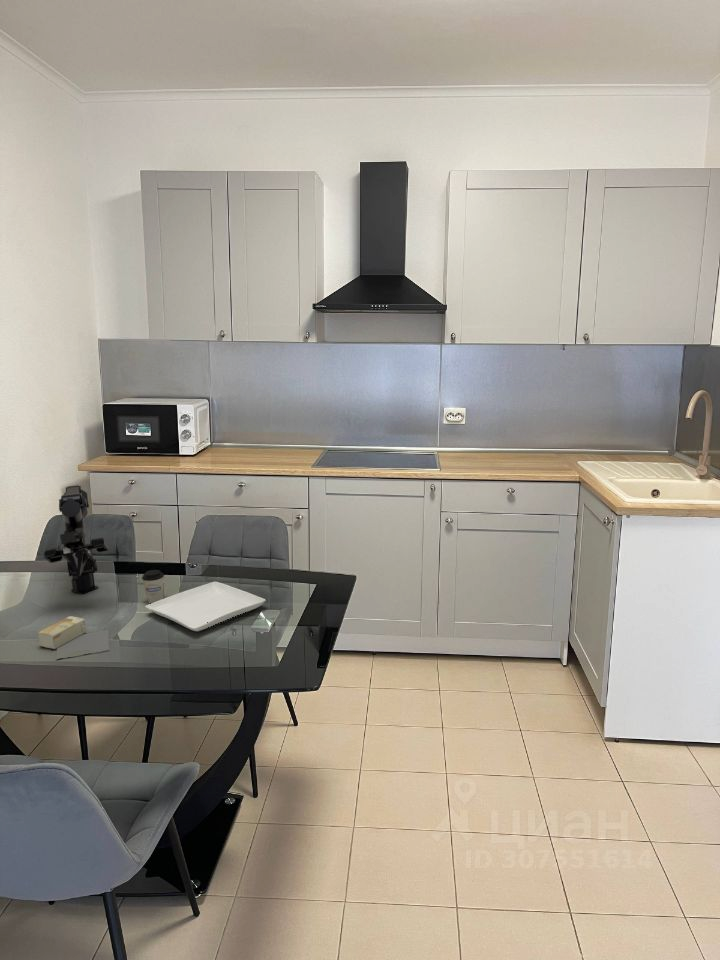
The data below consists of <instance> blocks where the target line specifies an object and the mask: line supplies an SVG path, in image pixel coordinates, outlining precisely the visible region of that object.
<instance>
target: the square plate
mask: <svg viewBox="0 0 720 960" xmlns="http://www.w3.org/2000/svg"><path fill="white" fill-rule="evenodd" d="M266 601H267V600H266V599H265V598H264V597H260V596H259V595H255V594H253V593H251V592H248V591H244V590H242V589H239V588H236V587H233V586H231V585H228V584H226V583H222V582H218V581H212V582H209V583H206V584H203V585H199V586H196V587H193V588H191V589H190V588H189V589H187V590H185V591H181V592H179V593H176V594H173V595H169V596H168V597H165V598H164V597H163V599H162V600H159V601H157V602H154V603H151V604H150V603H148V604H147V605H145V608H146V609H148V610H150V611H151V612H152V613H154V614H157V615H158V616H161V617H164V618H166V619H168V620H170V621H173V622H174V623H177V624H178V625H181V626H183V627H185V628H187V629H188V630H191V631H194V632H201V631H203V630H205V629H208V627H209V628H212V627H213V625H214V626H216V625H215V624H217V625H219V624H221V623H220V622H222V623H223V621H224V622H226V621H228V620H227V619H229V620H231V619H233V618H232V617H234V618H236V617H238V616H237V615H239V616H241V615H244V614H246V613H248V612H251V611H253V610H255V609H257V608H259V607H261V606H262V605H263V604H264V603H265V602H266ZM245 612H246V613H245ZM243 613H244V614H243ZM240 614H241V615H240ZM235 616H236V617H235ZM230 618H231V619H230ZM225 620H226V621H225ZM207 622H208V623H207ZM218 623H219V624H218ZM211 626H212V627H211Z"/></svg>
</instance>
